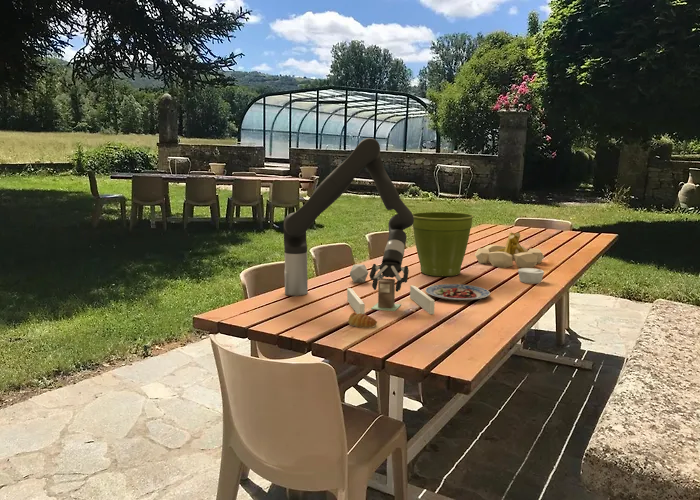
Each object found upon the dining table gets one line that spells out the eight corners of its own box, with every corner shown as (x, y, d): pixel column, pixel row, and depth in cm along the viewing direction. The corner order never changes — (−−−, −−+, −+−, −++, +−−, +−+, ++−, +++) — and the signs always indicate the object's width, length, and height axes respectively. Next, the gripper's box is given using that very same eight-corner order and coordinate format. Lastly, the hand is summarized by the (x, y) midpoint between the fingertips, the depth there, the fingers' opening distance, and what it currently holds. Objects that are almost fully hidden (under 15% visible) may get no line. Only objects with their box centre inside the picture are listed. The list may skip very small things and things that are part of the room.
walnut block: (377, 307, 202) (378, 281, 200) (381, 304, 207) (382, 278, 205) (390, 308, 200) (391, 282, 199) (394, 305, 205) (394, 279, 204)
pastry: (380, 325, 183) (380, 314, 182) (371, 330, 177) (371, 319, 176) (355, 321, 187) (355, 310, 186) (345, 326, 181) (345, 315, 181)
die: (361, 286, 241) (373, 267, 243) (345, 276, 242) (356, 257, 244) (361, 288, 249) (372, 270, 251) (345, 278, 250) (356, 261, 252)
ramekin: (545, 284, 242) (545, 273, 241) (518, 283, 244) (519, 272, 243) (541, 279, 252) (542, 268, 252) (516, 278, 255) (517, 267, 254)
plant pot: (417, 265, 285) (418, 211, 280) (474, 269, 275) (477, 213, 270) (403, 277, 257) (404, 216, 252) (467, 281, 247) (469, 218, 243)
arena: (360, 318, 190) (360, 304, 189) (347, 300, 213) (347, 288, 212) (434, 314, 195) (434, 300, 194) (413, 297, 218) (414, 285, 217)
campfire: (533, 271, 271) (535, 238, 269) (467, 264, 289) (468, 233, 286) (548, 260, 301) (550, 230, 298) (488, 255, 318) (489, 226, 316)
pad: (371, 309, 201) (371, 308, 201) (378, 303, 209) (378, 302, 209) (394, 311, 198) (394, 310, 198) (400, 305, 207) (400, 304, 206)
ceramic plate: (497, 293, 226) (497, 286, 226) (478, 307, 204) (478, 300, 204) (439, 286, 239) (439, 279, 239) (415, 299, 217) (415, 291, 217)
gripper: (374, 247, 210) (365, 282, 201) (410, 249, 205) (402, 285, 196) (377, 258, 215) (369, 293, 207) (413, 261, 211) (405, 296, 202)
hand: (385, 289), depth 201 cm, fingers open, 8 cm apart
